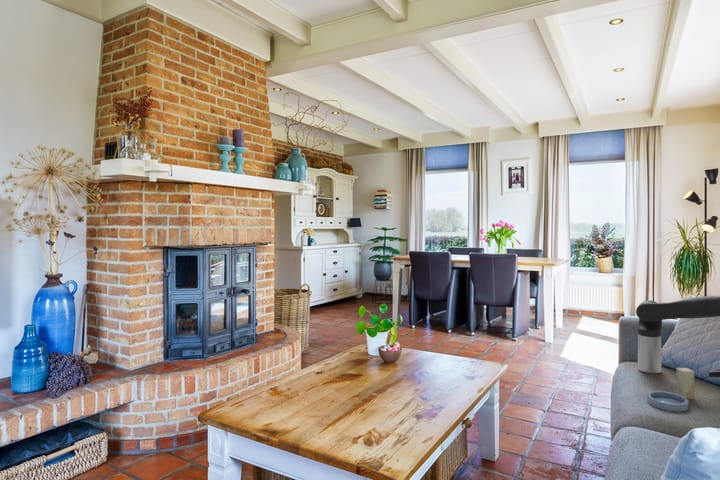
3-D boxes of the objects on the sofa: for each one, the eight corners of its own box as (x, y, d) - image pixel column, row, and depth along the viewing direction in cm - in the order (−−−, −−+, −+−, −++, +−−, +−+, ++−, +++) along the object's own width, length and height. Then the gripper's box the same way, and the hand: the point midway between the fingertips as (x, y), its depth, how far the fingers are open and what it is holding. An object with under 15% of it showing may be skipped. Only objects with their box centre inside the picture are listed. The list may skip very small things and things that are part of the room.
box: (695, 399, 173) (695, 372, 173) (682, 398, 174) (682, 371, 174) (687, 393, 179) (687, 367, 178) (676, 393, 180) (676, 367, 179)
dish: (641, 396, 177) (641, 390, 177) (675, 397, 176) (675, 391, 176) (658, 410, 165) (658, 404, 164) (695, 411, 163) (695, 405, 163)
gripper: (747, 363, 179) (704, 363, 181) (775, 375, 165) (728, 375, 167) (747, 380, 179) (704, 380, 182) (775, 394, 165) (728, 394, 167)
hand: (716, 378), depth 174 cm, fingers open, 8 cm apart
